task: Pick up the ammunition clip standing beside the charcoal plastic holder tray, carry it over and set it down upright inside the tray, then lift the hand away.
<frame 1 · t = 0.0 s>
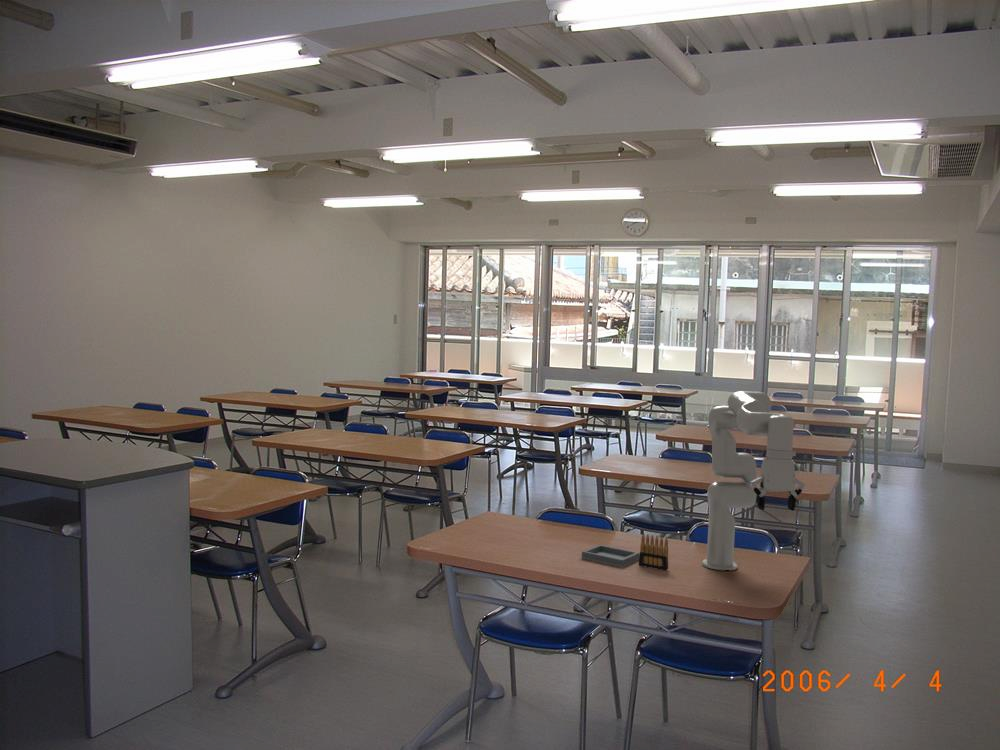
hand: (776, 509, 246), 31 cm above the table, tool pointing down, fingers open, 9 cm apart
ammunition clip: (653, 568, 287), on the table
holder tray: (610, 559, 296), on the table
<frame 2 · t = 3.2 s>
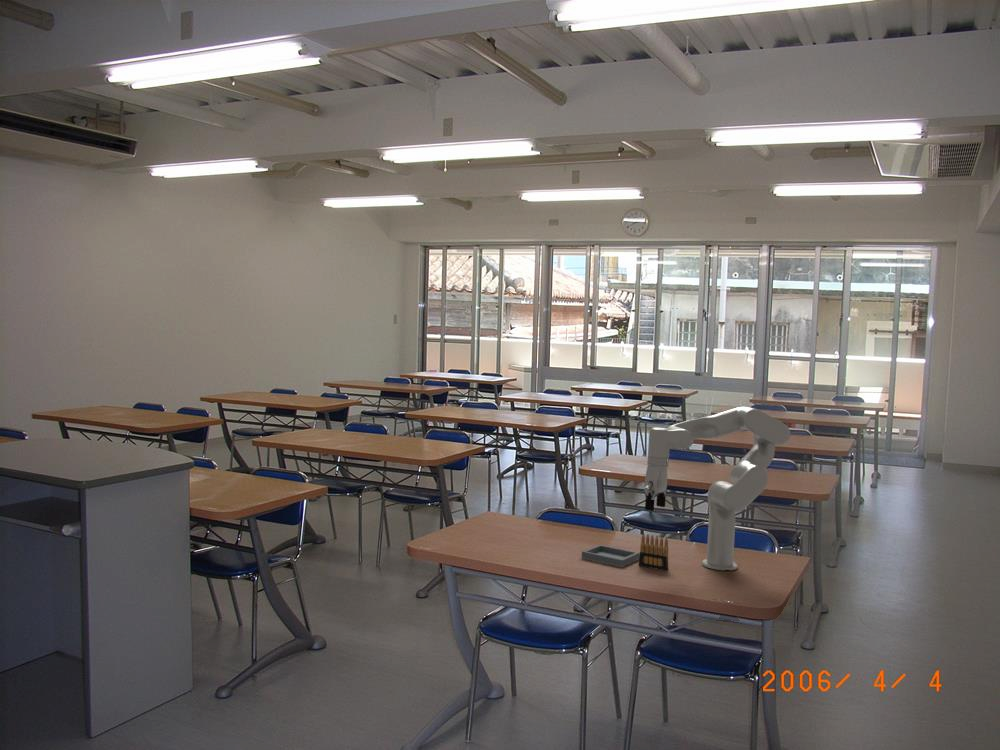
hand: (655, 508, 286), 22 cm above the table, tool pointing down, fingers open, 9 cm apart
nothing on the table moved.
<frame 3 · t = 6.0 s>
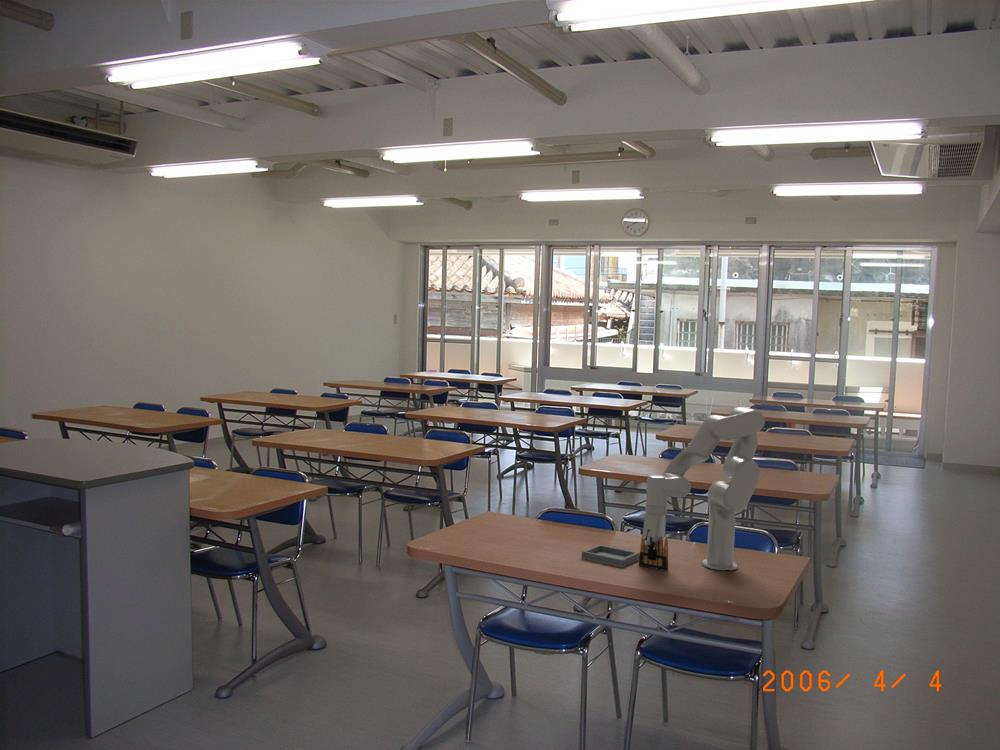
hand: (653, 558, 287), 3 cm above the table, tool pointing down, fingers closed on ammunition clip, 2 cm apart
ammunition clip: (653, 568, 287), on the table, touching gripper
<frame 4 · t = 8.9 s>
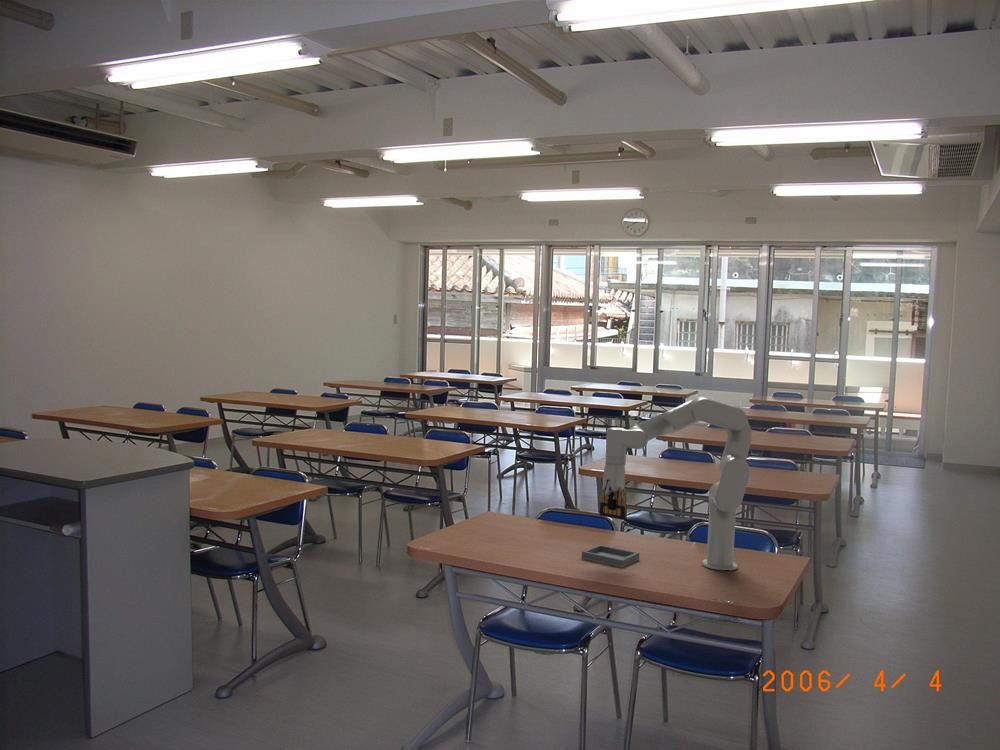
hand: (613, 508, 295), 19 cm above the table, tool pointing down, fingers closed on ammunition clip
ammunition clip: (612, 517, 295), point 16 cm above the table, touching gripper
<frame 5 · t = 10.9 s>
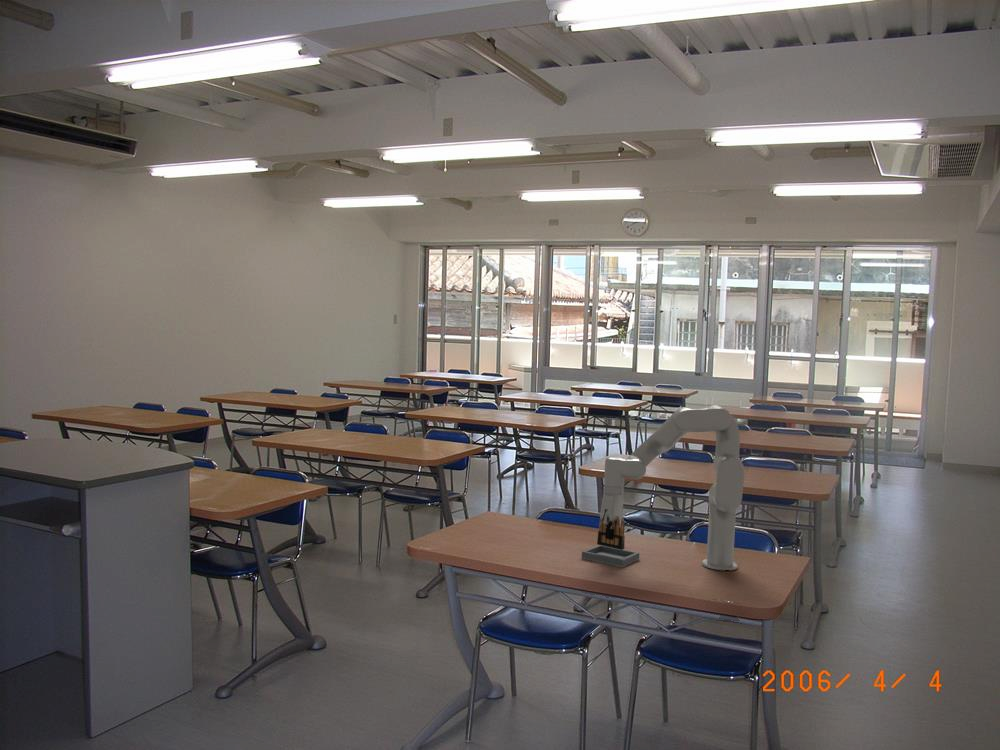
hand: (611, 538, 296), 8 cm above the table, tool pointing down, fingers closed on ammunition clip
ammunition clip: (610, 547, 296), point 5 cm above the table, touching gripper
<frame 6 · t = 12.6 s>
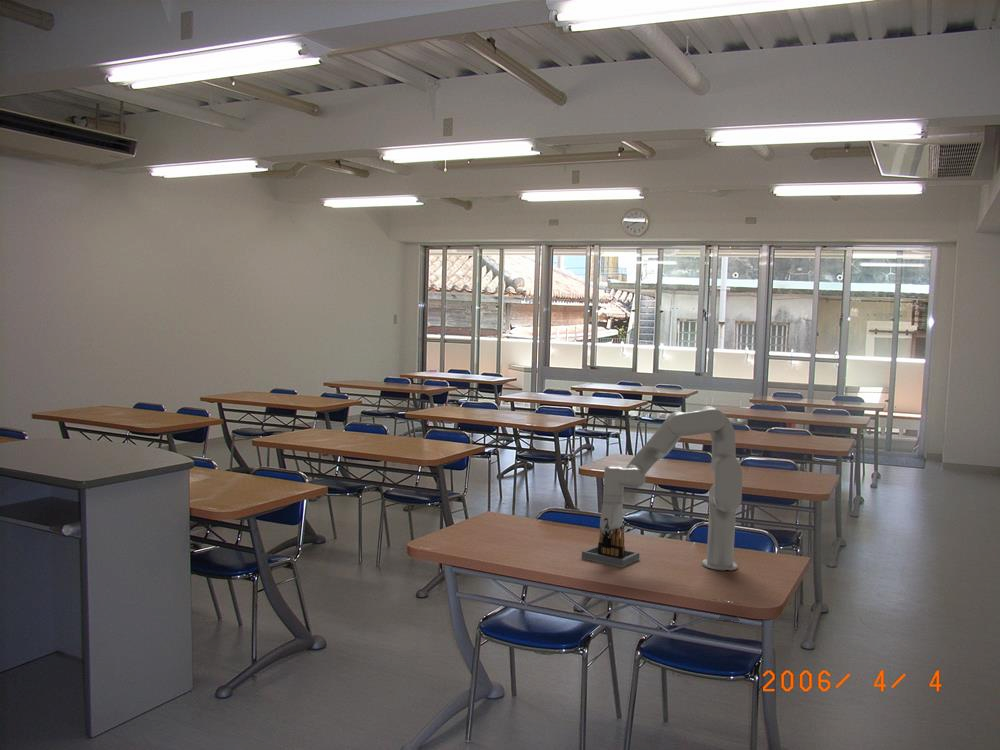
hand: (611, 545, 296), 5 cm above the table, tool pointing down, fingers open, 6 cm apart
ammunition clip: (610, 557, 296), resting on holder tray
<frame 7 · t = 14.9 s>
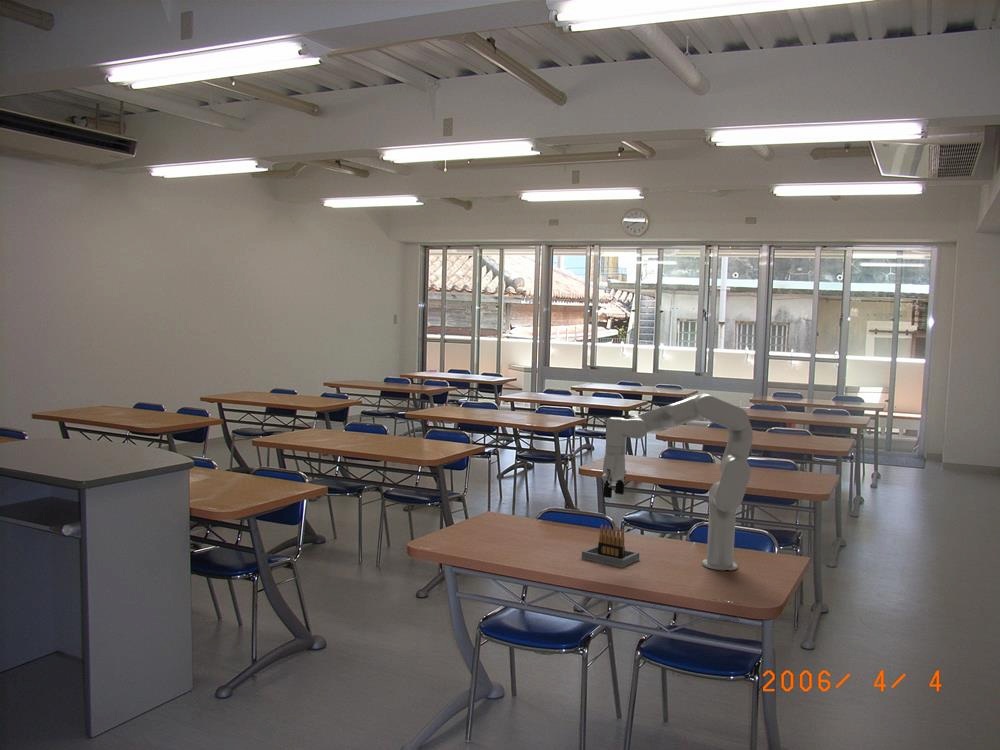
hand: (613, 495, 295), 24 cm above the table, tool pointing down, fingers open, 9 cm apart
nothing on the table moved.
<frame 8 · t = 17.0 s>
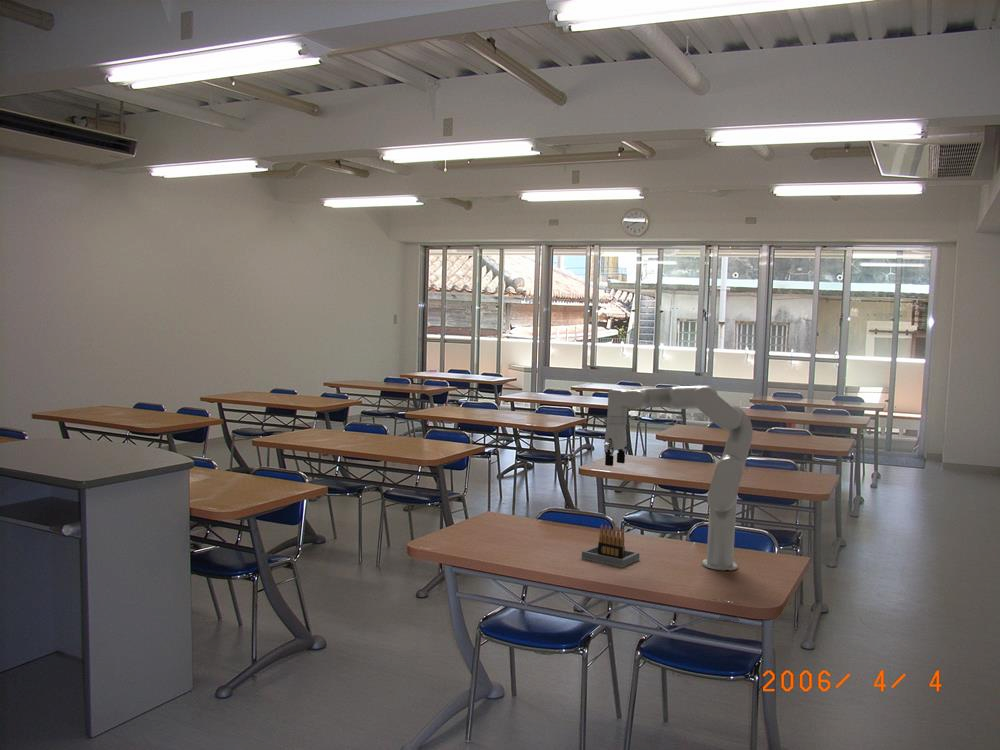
hand: (614, 464, 306), 34 cm above the table, tool pointing down, fingers open, 9 cm apart
nothing on the table moved.
at the end: ammunition clip inside the target area on the holder tray (0.1 cm from its centre), point 0.4 cm above the holder tray's base; ammunition clip tilted 0°; the gripper is holding nothing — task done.
